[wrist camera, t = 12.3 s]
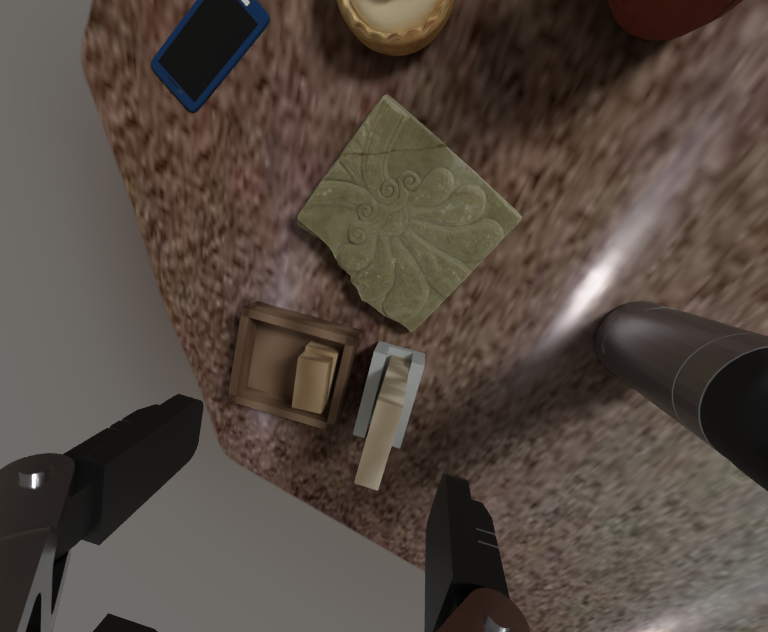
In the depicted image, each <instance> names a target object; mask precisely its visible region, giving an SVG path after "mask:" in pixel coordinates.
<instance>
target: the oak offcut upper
mask: <svg viewBox="0 0 768 632" xmlns="http://www.w3.org/2000/svg"><path fill="white" fill-rule="evenodd" d="M332 364H333V357H330V356H325V355H320V354H316V353H311V352H306V351H304V352H303V353H302V354H301V355H300V356H299V357H298V362H297V370H296V378H295V386H294V393H293V401H292V408H297V409H301V410H306V411H310V412H315V413H319V414H321V413H322V411H323V410H324V408H325V406H326V403H327V396H328V390H329V383H330V377H331V370H332Z"/></svg>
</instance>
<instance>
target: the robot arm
mask: <svg viewBox="0 0 768 632" xmlns="http://www.w3.org/2000/svg"><path fill="white" fill-rule="evenodd" d="M595 349H596V354H597V356H598V358H599V360H600V361H601V363H602V364H603V365H604V366H605V367H606V368H607V369H608V370H610V371H611V372H612V373H613V374H615V375H616V376H617V377H619V378H620V379H621V380H623V381H624V382H625V383H626V384H628V385H629V386H630V387H632V388H633V389H634V390H636V391H637V392H638V393H640V394H641V395H642V396H644V397H645V398H647V399H648V400H649V401H651V402H652V403H653V404H655V405H656V406H657V407H659V408H660V409H661V410H663V411H664V412H665V413H667V414H668V415H669V416H671V417H672V418H673V419H675V420H676V421H677V422H679V423H680V424H681V425H683V426H684V427H685V428H687V429H688V430H689V431H691V432H692V433H694V434H695V435H696V436H698V437H699V438H700V439H702V440H703V441H704V442H706V443H707V444H708V445H710V446H711V447H712V448H714V449H715V450H716V451H718V452H719V453H720V454H722V455H723V456H724V457H726V458H727V459H728V460H730V461H731V462H732V463H733V464H734V465H735V466H736V467H737V468H739V469H740V470H741V471H742V472H743V473H745V474H746V475H747V476H748V477H750V478H751V479H752V480H754V481H755V482H756V483H758V484H759V485H760V486H761V487H763V488H764V489H765V490H767V491H768V336H764V335H761V334H757V333H754V332H751V331H747V330H744V329H741V328H737V327H734V326H730V325H727V324H724V323H720V322H717V321H714V320H710V319H707V318H704V317H700V316H697V315H693V314H690V313H687V312H683V311H680V310H677V309H674V308H670V307H667V306H663V305H660V304H656V303H653V302H646V301H638V302H631V303H628V304H625V305H622V306H620V307H618V308H617V309H615V310H613V311H612V312H611V313H610V314H608V315H607V316H606V318H605V319H604V320H603V321H602V322H601V324H600V326H599V328H598V330H597V334H596V337H595ZM202 413H203V402H202V401H201V400H197V399H194V398H191V397H187V396H184V395H181V394H177V395H175V396H173V397H172V398H170V399H169V400H167V401H165V402H164V403H162V404H161V405H156V404H155V405H152V406H149V407H146V408H142V409H139V410H136V411H135V412H133V413H131V414H130V415H128V416H126V417H125V418H123V419H122V421H118V422H116V423H115V424H113V425H111V426H110V428H106V429H105V430H103V431H101V432H99V433H98V434H96V435H95V436H93V437H91V438H90V439H88V440H86V441H84V442H83V443H81V444H79V445H78V446H76V447H74V448H73V449H71V450H69V451H68V452H66V453H64V454H57V453H44V454H36V455H32V456H28V457H24V458H21V459H19V460H16V461H14V462H12V463H10V464H8V465H6V466H5V467H3V468H2V469H0V632H53V628H54V623H55V619H56V615H57V611H58V607H59V602H60V598H61V594H62V590H63V586H64V582H65V578H66V574H67V569H68V565H69V561H70V556H71V548H72V547H73V546H75V545H76V544H77V543H78V542H79V541H80V540H81V539H82V540H85V541H88V542H91V543H94V544H97V545H100V544H101V543H102V542H103V541H104V540H105V539H106V538H108V537H109V536H110V535H111V534H112V533H113V532H114V531H115V530H116V529H117V528H118V527H119V526H120V525H121V524H123V523H124V522H125V521H126V520H127V519H128V518H129V517H130V516H131V515H132V514H133V513H134V512H135V511H136V510H137V509H138V508H140V507H141V506H142V505H143V504H144V503H145V502H146V501H147V500H148V499H149V498H150V497H151V496H152V495H153V494H155V493H156V492H157V491H158V490H159V489H160V488H161V487H162V486H163V485H164V484H165V483H166V482H167V481H168V480H169V479H171V478H172V477H173V476H174V475H175V474H176V473H177V472H178V471H179V470H180V469H181V468H182V467H183V466H184V465H185V464H187V462H188V461H189V460H190V459H191V458H192V456H193V455H194V453H195V450H196V449H197V446H198V441H199V434H200V428H201V421H202ZM93 632H157V631H156V630H155V629H153V628H150V627H146V626H144V625H141V624H138V623H135V622H132V621H129V620H126V619H123V618H120V617H117V616H114V615H112V614H107V616H106V617H105V618H104V619H103V621H102V622H101V623H100V624H99V625H98V626H97V628H96V629H95V630H94V631H93ZM425 632H530V629H529V626H528V623H527V621H526V619H525V617H524V615H523V614H522V612H521V611H520V609H519V608H518V607H517V606H516V605H515V604H514V603H513V602H512V601H511V600H510V598H509V593H508V589H507V584H506V580H505V575H504V571H503V566H502V562H501V557H500V553H499V549H498V544H497V539H496V536H495V530H494V526H493V521H492V517H491V516H490V514H489V513H488V511H487V510H486V508H485V506H484V505H483V503H481V502H478V501H475V500H471V494H470V488H469V482H468V480H465V479H462V478H458V477H455V476H451V475H448V474H445V473H444V474H443V476H442V478H441V481H440V484H439V487H438V490H437V493H436V496H435V499H434V502H433V505H432V508H431V511H430V514H429V518H428V523H427V529H426V557H425Z"/></svg>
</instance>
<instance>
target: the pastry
mask: <svg viewBox="0 0 768 632" xmlns="http://www.w3.org/2000/svg"><path fill="white" fill-rule="evenodd" d="M336 1H337V4H338V7H339V10H340V12H341V15H342V17H343V19H344V21H345V22H346V24H347V26H348V27H349V28H350V30H351V31H352V32H353V34H354V35H355V36H356V37H357V39H358V40H359V41H361V42H362V43H363V44H364V45H365V46H367V47H368V48H369V49H371V50H373V51H376V52H378V53H381V54H385V55H389V56H403V55H408V54H412V53H415V52H417V51H419V50H421V49H423V48H424V47H426V46H427V45H428V44H429V43H430V42H431V41H432V40H434V39H435V38H436V36H437V35H438V34H439V33H440V32H441V30H442V29H443V27H444V25H445V24H446V22H447V20H448V18H449V16H450V14H451V11H452V9H453V6H454V3H455V0H336Z"/></svg>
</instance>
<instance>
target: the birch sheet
mask: <svg viewBox="0 0 768 632" xmlns="http://www.w3.org/2000/svg"><path fill="white" fill-rule="evenodd" d="M409 366H410V360H409V359H405V358H402V357H398V356H395V355H392V356H391V359H390V362H389V365H388V368H387V372H386V375H385V378H384V381H383V384H382V387H381V391H380V394H379V397H378V400H377V404H376V407H375V411H374V414H373V418H372V421H371V425H370V428H369V432H368V435H367V439H366V442H365V446H364V449H363V453H362V456H361V460H360V463H359V467H358V470H357V474H356V478H355V481H354V483H355V484H358V485H361V486H364V487H367V488H371V489H374V490H377V491H378V489H379V486H380V482H381V479H382V476H383V473H384V469H385V466H386V463H387V459H388V456H389V453H390V450H391V446H392V443H393V440H394V436H395V433H396V430H397V427H398V423H399V420H400V417H401V413H402V410H403V406H404V399H405V393H406V386H407V380H408V373H409Z"/></svg>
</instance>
